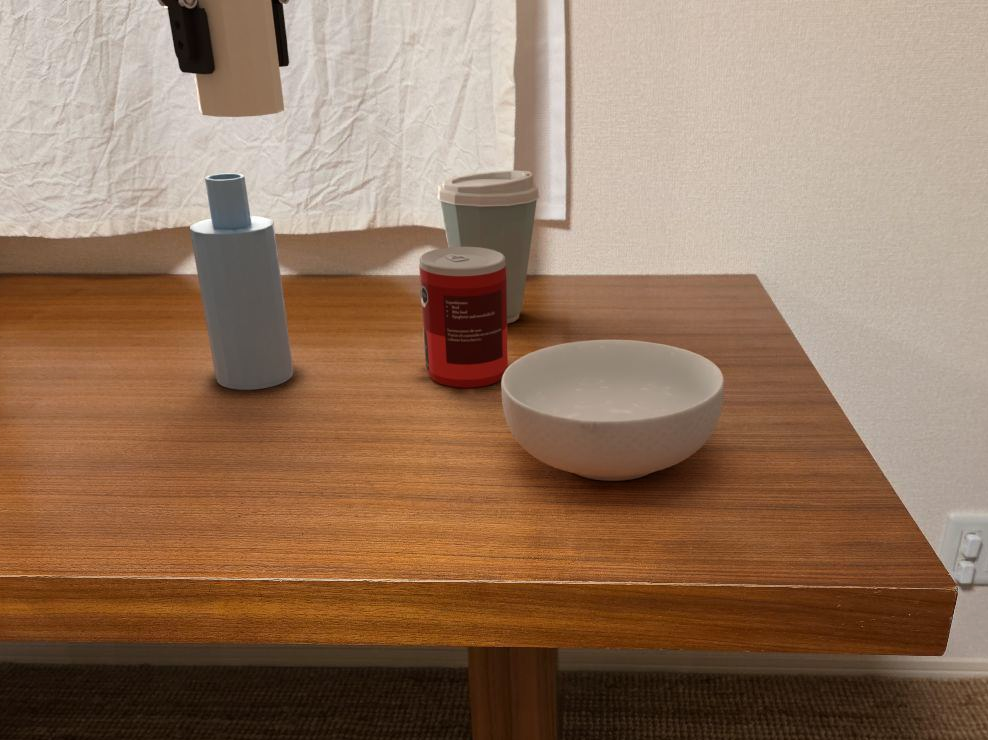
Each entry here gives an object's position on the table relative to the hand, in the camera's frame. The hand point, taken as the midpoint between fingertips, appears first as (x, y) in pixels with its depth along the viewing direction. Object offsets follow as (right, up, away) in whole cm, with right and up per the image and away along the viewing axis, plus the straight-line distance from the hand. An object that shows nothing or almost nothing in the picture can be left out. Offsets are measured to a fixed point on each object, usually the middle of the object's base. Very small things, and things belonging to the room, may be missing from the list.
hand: (235, 66), depth 72 cm
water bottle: (-5, -18, +23) cm, 30 cm away
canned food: (+15, -18, +24) cm, 33 cm away
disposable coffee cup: (+16, -9, +39) cm, 43 cm away
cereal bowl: (+27, -28, +7) cm, 39 cm away
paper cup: (0, -3, +1) cm, 3 cm away
